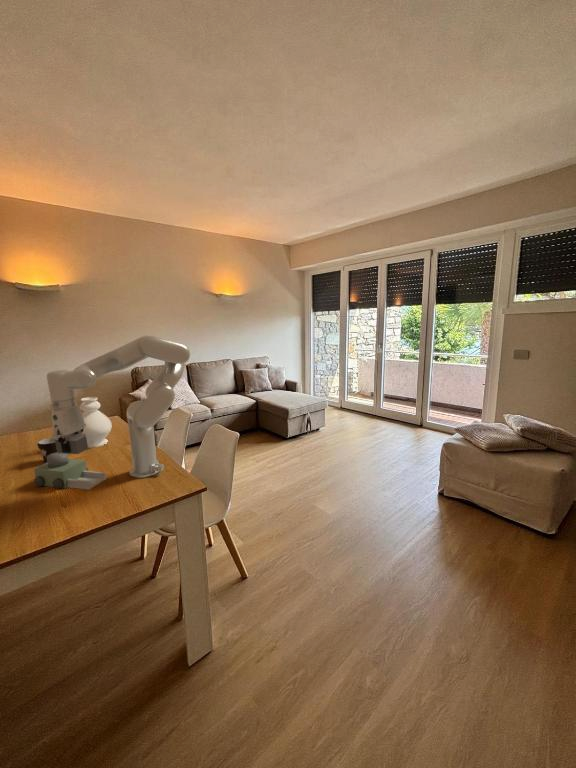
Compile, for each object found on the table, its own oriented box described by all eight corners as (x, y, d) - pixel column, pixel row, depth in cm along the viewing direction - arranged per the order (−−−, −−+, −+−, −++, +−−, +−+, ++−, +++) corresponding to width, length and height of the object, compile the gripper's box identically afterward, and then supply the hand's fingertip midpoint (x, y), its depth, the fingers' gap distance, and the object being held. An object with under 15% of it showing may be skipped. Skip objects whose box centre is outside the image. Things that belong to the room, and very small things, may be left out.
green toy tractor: (109, 476, 139) (107, 452, 137) (84, 492, 126) (80, 465, 124) (62, 471, 144) (59, 447, 142) (33, 486, 131) (29, 460, 129)
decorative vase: (96, 451, 166) (90, 403, 162) (66, 448, 170) (60, 401, 165) (120, 438, 183) (116, 395, 179) (93, 436, 187) (88, 394, 182)
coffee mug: (66, 460, 156) (63, 440, 154) (44, 466, 149) (40, 445, 148) (59, 453, 163) (56, 434, 161) (37, 459, 157) (34, 439, 155)
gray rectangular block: (88, 448, 127) (85, 434, 126) (77, 454, 123) (75, 439, 121) (68, 447, 129) (65, 433, 128) (57, 453, 124) (54, 438, 123)
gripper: (53, 410, 113) (62, 459, 117) (90, 397, 129) (97, 441, 133) (34, 410, 114) (44, 458, 118) (74, 397, 131) (81, 440, 135)
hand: (72, 448), depth 126 cm, fingers closed on gray rectangular block, 5 cm apart
